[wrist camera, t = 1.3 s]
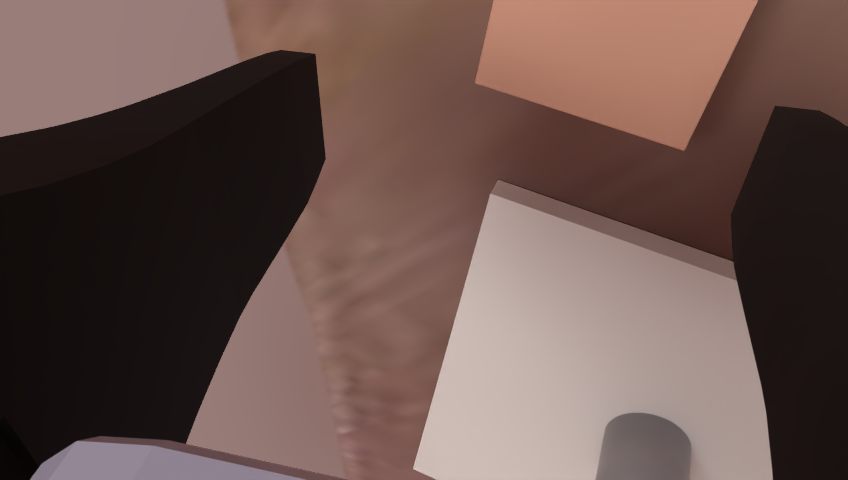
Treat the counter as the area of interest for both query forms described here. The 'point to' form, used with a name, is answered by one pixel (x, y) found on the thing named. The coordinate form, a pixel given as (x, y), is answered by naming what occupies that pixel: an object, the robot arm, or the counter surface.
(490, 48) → the tan brick
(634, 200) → the counter surface
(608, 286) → the post board
